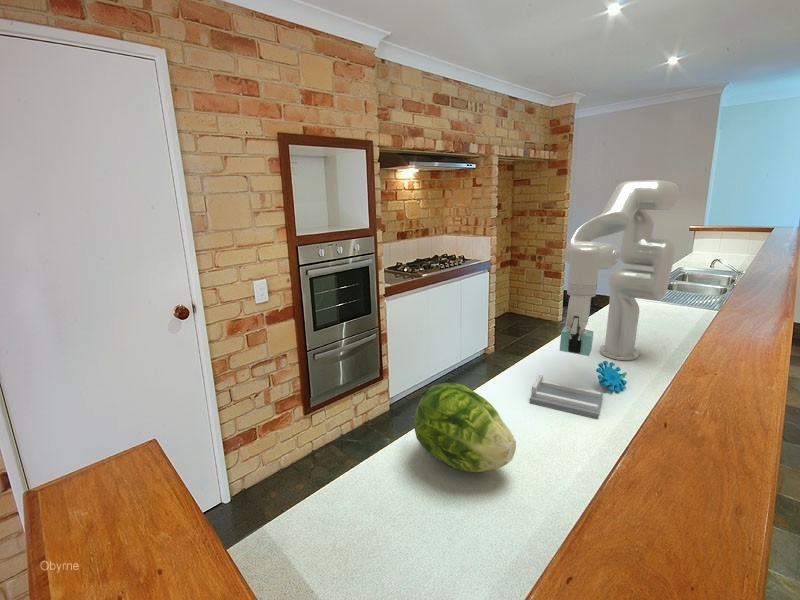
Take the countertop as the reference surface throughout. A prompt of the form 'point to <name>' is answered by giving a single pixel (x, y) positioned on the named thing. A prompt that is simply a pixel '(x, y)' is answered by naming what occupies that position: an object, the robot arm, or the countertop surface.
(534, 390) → the rail base
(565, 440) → the countertop surface
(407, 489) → the countertop surface
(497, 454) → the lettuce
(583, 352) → the block
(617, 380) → the gear
